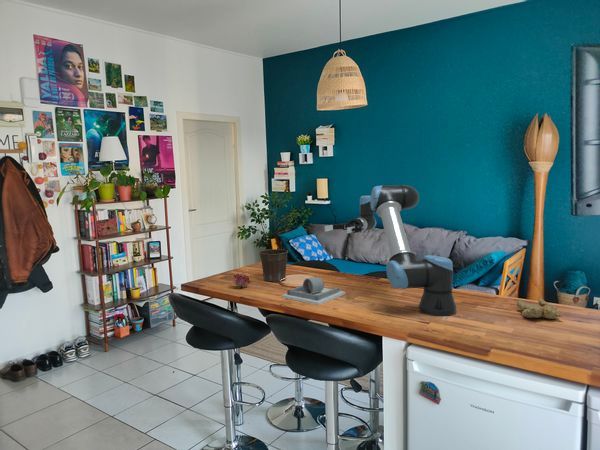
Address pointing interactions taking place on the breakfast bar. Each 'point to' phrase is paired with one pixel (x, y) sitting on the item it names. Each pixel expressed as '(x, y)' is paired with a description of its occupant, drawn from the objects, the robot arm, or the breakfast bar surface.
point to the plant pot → (274, 264)
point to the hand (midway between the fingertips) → (336, 229)
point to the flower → (241, 280)
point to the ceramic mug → (313, 285)
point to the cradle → (313, 295)
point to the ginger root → (538, 309)
